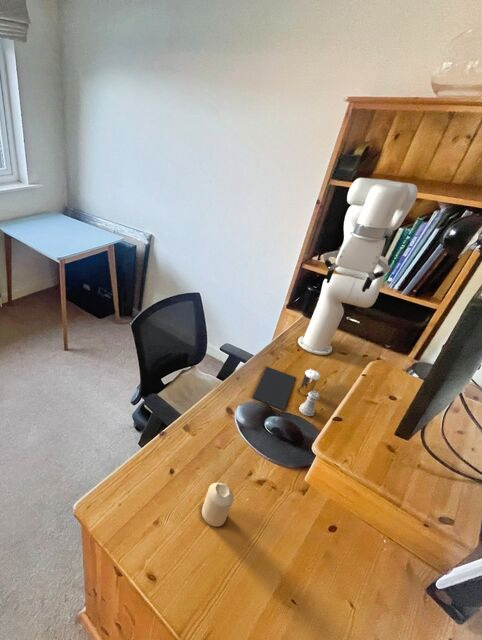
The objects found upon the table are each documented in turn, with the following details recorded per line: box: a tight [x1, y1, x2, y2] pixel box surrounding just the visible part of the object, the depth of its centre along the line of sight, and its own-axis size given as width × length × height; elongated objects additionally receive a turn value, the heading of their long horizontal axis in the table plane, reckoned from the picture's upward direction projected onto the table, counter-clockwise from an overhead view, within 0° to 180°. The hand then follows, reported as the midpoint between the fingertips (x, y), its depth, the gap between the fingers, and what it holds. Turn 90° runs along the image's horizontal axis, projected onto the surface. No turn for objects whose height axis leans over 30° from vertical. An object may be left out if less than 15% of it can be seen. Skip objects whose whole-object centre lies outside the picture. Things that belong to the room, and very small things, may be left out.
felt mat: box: [252, 366, 296, 412], centre depth 120 cm, size 20×10×1 cm, turn 146°
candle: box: [201, 482, 235, 528], centre depth 79 cm, size 6×6×10 cm
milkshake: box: [299, 363, 322, 397], centre depth 117 cm, size 4×5×10 cm
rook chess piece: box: [298, 390, 320, 417], centre depth 109 cm, size 4×4×8 cm
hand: (345, 285), depth 107 cm, fingers open, 9 cm apart
